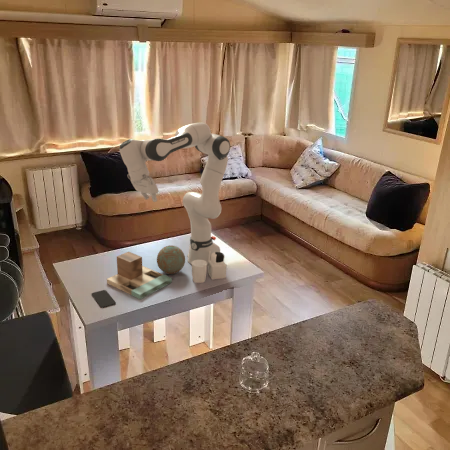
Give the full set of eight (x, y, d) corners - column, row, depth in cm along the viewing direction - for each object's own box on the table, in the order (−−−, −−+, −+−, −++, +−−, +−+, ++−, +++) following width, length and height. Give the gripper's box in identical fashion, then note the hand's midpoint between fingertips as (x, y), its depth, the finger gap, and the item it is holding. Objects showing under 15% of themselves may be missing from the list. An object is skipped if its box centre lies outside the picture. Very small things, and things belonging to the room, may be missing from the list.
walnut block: (129, 268, 246) (128, 251, 242) (142, 274, 241) (142, 257, 237) (117, 274, 240) (116, 256, 236) (130, 280, 235) (130, 262, 231)
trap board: (139, 268, 252) (139, 264, 251) (171, 282, 239) (171, 278, 238) (107, 283, 236) (106, 278, 235) (140, 299, 223) (140, 294, 222)
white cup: (203, 285, 238) (203, 267, 234) (189, 282, 240) (189, 264, 236) (208, 278, 245) (209, 261, 241) (195, 275, 247) (195, 258, 243)
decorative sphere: (171, 281, 240) (171, 255, 234) (151, 272, 248) (150, 247, 242) (190, 271, 251) (191, 246, 245) (170, 263, 259) (170, 238, 254)
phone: (105, 289, 229) (116, 303, 218) (105, 290, 229) (116, 304, 218) (90, 293, 225) (101, 307, 214) (90, 294, 226) (101, 308, 214)
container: (221, 271, 252) (222, 249, 247) (226, 278, 246) (227, 256, 241) (207, 273, 250) (208, 251, 245) (212, 280, 243) (212, 257, 238)
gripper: (154, 172, 210) (166, 199, 215) (136, 169, 227) (148, 194, 232) (142, 178, 207) (154, 206, 213) (125, 175, 224) (137, 200, 230)
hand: (151, 200), depth 223 cm, fingers open, 8 cm apart
